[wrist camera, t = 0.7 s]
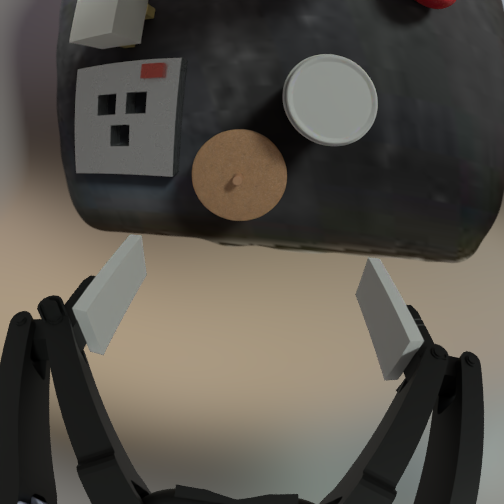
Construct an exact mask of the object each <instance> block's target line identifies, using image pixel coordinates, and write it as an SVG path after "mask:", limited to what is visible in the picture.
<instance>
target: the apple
mask: <svg viewBox="0 0 504 504" xmlns="http://www.w3.org/2000/svg"><path fill="white" fill-rule="evenodd" d="M415 1H417V2H418V3H420V4H422V5H424V6H426V7H429V8H433V9H443V8H446V7H449V6H451V5H452V4H453V3H454V2H455V1H456V0H415Z"/></svg>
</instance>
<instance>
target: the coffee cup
mask: <svg viewBox="0 0 504 504" xmlns="http://www.w3.org/2000/svg"><path fill="white" fill-rule="evenodd" d="M283 105H284V109H285V112H286V115H287V117H288V119H289V121H290V122H291V124H292V125H293V127H294V128H295V129H296V130H297V131H298V132H299V133H300V134H301V135H303V136H304V137H306V138H307V139H309V140H311V141H313V142H315V143H318V144H321V145H326V146H343V145H347V144H350V143H353V142H355V141H357V140H358V139H360V138H361V137H362V136H364V135H365V134H366V133H367V132H368V130H369V129H370V128H371V126H372V124H373V122H374V120H375V117H376V114H377V107H378V100H377V94H376V90H375V87H374V85H373V83H372V81H371V79H370V77H369V76H368V75H367V73H366V72H365V71H364V70H363V69H362V68H361V67H360V66H358V65H357V64H356V63H354V62H353V61H351V60H349V59H347V58H344V57H342V56H338V55H332V54H321V55H315V56H312V57H309V58H307V59H304V60H303V61H301V62H300V63H298V64H297V65H296V66H295V67H294V68H293V69H292V70H291V72H290V73H289V75H288V76H287V78H286V81H285V84H284V88H283Z"/></svg>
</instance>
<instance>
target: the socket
mask: <svg viewBox="0 0 504 504" xmlns="http://www.w3.org/2000/svg"><path fill="white" fill-rule="evenodd" d="M187 63H188V61H187V60H185V59H183V58H163V59H147V60H136V61H127V62H119V63H111V64H105V65H99V66H93V67H87V68H82V69H78V72H77V83H76V99H75V160H76V173H104V174H133V175H152V176H168V177H173V176H174V175H175V174H177V173H178V172H179V157H180V139H181V124H182V112H183V100H184V90H185V80H186V71H187ZM142 92H147V99H146V113H135V100H136V93H142ZM113 94H116V110H115V114H108V100H109V95H113ZM120 125H129V143H120Z"/></svg>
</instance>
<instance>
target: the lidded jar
mask: <svg viewBox="0 0 504 504" xmlns="http://www.w3.org/2000/svg"><path fill="white" fill-rule="evenodd" d="M192 183H193V187H194V190H195V193H196V195H197V196H198V198H199V200H200V201H201V202H202V204H203V205H204V206H205V207H206V208H207V209H208V210H210V211H211V212H212V213H214V214H216V215H218V216H220V217H222V218H225V219H228V220H234V221H246V220H251V219H255V218H258V217H260V216H262V215H264V214H266V213H268V212H269V211H270V210H271V209H273V208H274V207H275V205H276V204H277V203H278V202H279V200H280V199H281V197H282V195H283V193H284V191H285V187H286V183H287V169H286V165H285V161H284V159H283V157H282V154H281V153H280V151H279V150H278V148H277V147H276V146H275V145H274V144H273V142H271V141H270V140H269V139H268V138H267V137H265V136H264V135H262V134H260V133H258V132H255V131H252V130H247V129H235V130H228V131H225V132H222V133H219V134H217V135H215V136H214V137H212V138H211V139H209V140H208V141H207V142H206V143H205V144H204V145H203V146H202V147H201V148H200V150H199V151H198V153H197V155H196V157H195V159H194V162H193V166H192Z"/></svg>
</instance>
